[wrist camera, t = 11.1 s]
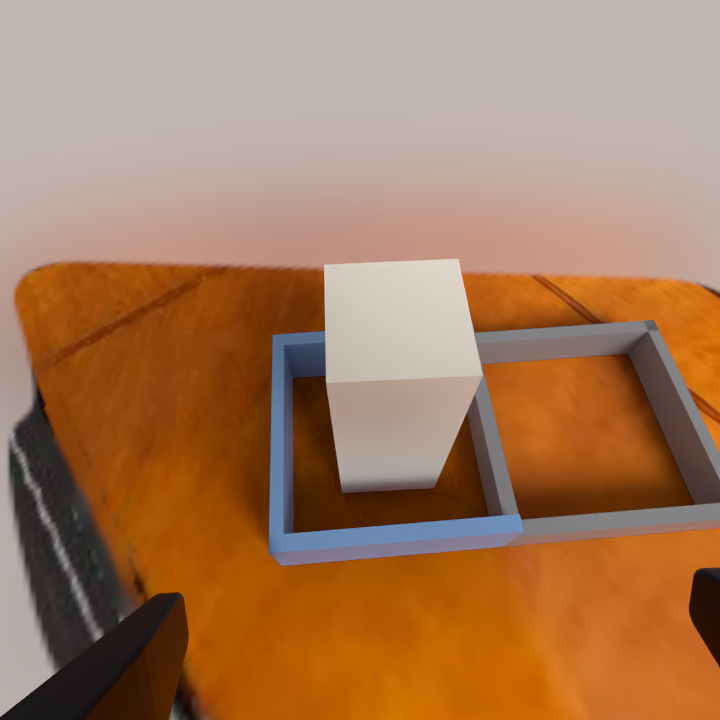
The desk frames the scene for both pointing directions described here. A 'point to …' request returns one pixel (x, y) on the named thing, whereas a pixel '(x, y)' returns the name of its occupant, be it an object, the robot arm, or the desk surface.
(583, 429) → the desk surface
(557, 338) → the organizer
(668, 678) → the desk surface
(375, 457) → the white rectangular block
